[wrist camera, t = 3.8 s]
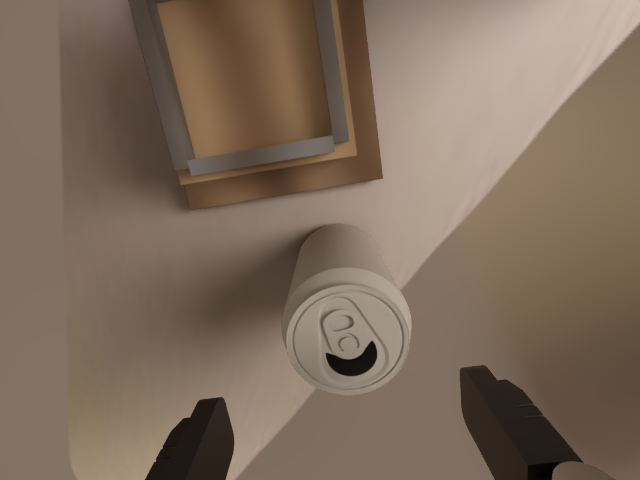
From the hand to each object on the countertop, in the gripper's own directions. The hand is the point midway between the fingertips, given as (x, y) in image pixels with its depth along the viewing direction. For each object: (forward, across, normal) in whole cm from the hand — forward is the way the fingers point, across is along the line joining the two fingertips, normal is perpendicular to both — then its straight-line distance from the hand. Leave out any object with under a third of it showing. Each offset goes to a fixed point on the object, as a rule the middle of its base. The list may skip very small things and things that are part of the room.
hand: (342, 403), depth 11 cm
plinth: (+16, +3, -13) cm, 21 cm away
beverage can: (+16, -1, 0) cm, 16 cm away
